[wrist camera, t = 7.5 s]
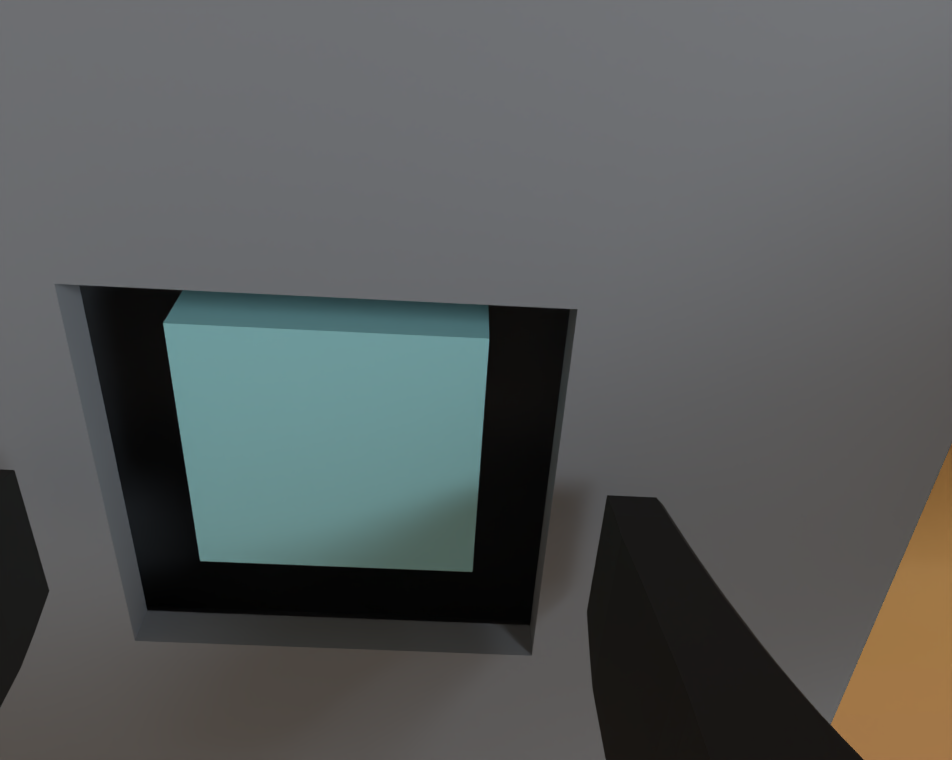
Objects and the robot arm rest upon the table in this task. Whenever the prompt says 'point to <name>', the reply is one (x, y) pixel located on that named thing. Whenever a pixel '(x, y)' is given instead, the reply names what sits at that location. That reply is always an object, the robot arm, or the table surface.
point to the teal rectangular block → (330, 427)
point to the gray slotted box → (510, 340)
